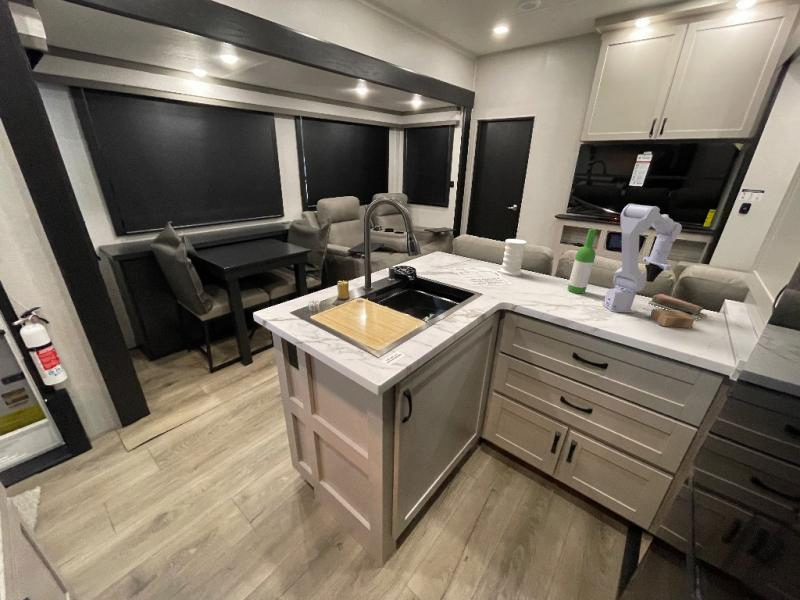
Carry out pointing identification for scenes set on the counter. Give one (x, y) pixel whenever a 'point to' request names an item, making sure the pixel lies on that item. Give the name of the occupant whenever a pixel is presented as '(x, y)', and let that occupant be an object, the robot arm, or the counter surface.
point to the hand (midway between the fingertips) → (649, 281)
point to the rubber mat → (654, 320)
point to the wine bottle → (582, 265)
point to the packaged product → (677, 305)
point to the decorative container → (513, 257)
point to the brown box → (672, 318)
